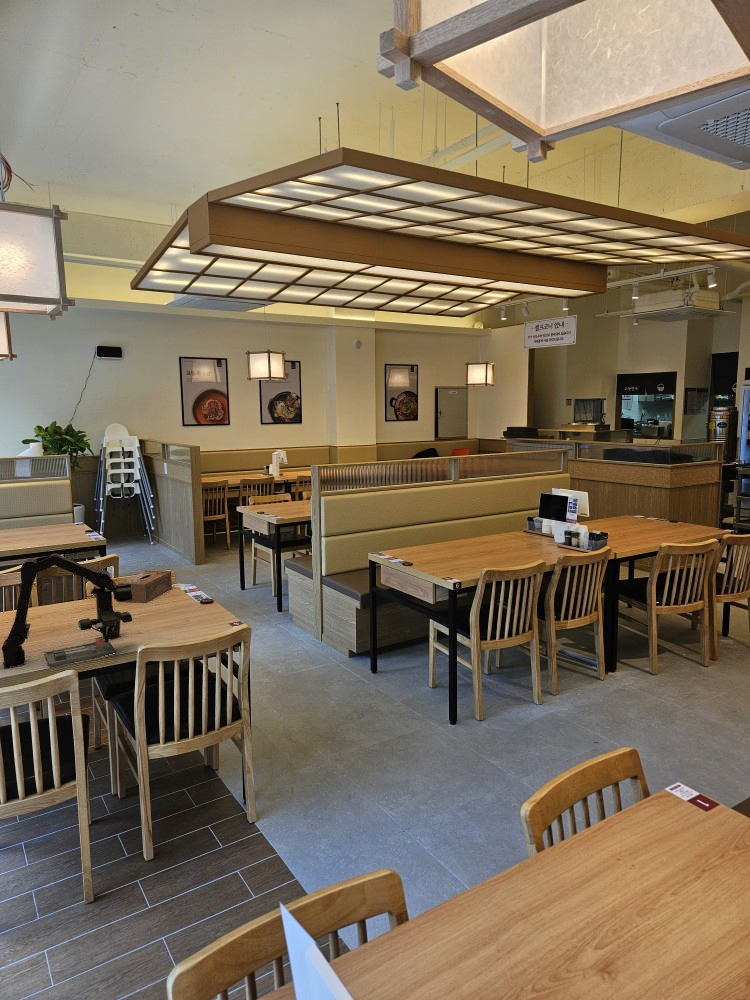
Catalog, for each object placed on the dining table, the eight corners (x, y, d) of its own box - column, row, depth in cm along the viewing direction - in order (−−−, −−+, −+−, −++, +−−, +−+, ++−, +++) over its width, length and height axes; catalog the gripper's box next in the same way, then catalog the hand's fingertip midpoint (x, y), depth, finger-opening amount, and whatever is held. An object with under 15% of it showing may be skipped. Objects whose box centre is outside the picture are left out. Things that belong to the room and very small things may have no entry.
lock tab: (97, 646, 241) (97, 640, 241) (95, 644, 244) (95, 638, 244) (104, 645, 242) (103, 639, 242) (102, 642, 245) (101, 636, 245)
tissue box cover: (147, 588, 335) (146, 570, 334) (172, 589, 333) (171, 571, 331) (119, 602, 310) (118, 583, 309) (145, 603, 308) (144, 584, 306)
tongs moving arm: (54, 658, 235) (54, 653, 235) (53, 656, 237) (53, 651, 237) (85, 652, 241) (85, 647, 241) (85, 651, 243) (84, 645, 242)
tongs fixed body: (55, 661, 233) (55, 656, 232) (54, 658, 236) (53, 652, 236) (105, 651, 243) (105, 645, 242) (103, 647, 246) (103, 642, 246)
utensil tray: (49, 668, 229) (49, 663, 228) (44, 656, 240) (44, 652, 240) (116, 653, 242) (115, 649, 241) (108, 643, 253) (107, 639, 253)
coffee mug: (125, 633, 265) (123, 610, 264) (117, 640, 256) (116, 616, 255) (97, 633, 265) (96, 611, 263) (89, 641, 256) (87, 617, 255)
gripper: (82, 612, 231) (85, 653, 233) (134, 604, 241) (136, 642, 243) (76, 605, 240) (79, 644, 242) (127, 597, 250) (129, 634, 252)
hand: (106, 641), depth 245 cm, fingers closed
